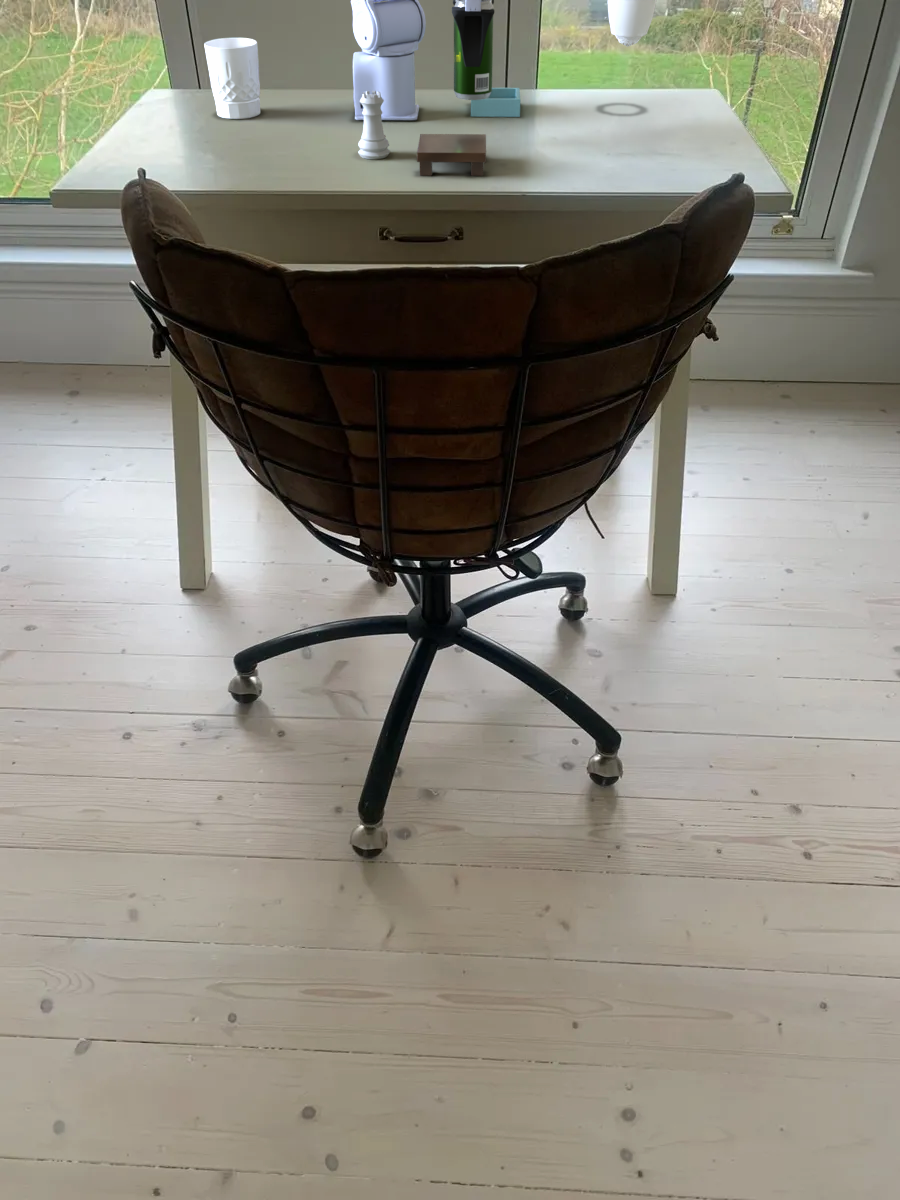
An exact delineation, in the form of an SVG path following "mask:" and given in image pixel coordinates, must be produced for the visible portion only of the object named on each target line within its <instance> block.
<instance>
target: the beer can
mask: <svg viewBox="0 0 900 1200" xmlns="http://www.w3.org/2000/svg"><path fill="white" fill-rule="evenodd" d="M455 2H456V4H455V6H454V5H453V7H465V0H455ZM494 8H495V7H494V4H492V0H481V9H494ZM494 10H495V9H494ZM493 56H494V16H493V17H492V19H491V22H490V24H489V27H488V30H487V34H486V38H485V44H484V50H483V57H482V61H481V65H480V67H465V64H464V60H463V54H462V46H461V39H460V34H459V30H458V27H457V24H456V21H455V19H454V18H453V93H454V95H455V97H456V98H457V99H459V100H464V101H471V100H482V99H486V98H489V97H490V94H491V92H492V88H493V66H494V65H493V64H494V63H493V62H494V61H493V59H494V57H493Z"/></svg>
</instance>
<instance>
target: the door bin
mask: <svg viewBox="0 0 900 1200" xmlns="http://www.w3.org/2000/svg"><path fill="white" fill-rule="evenodd" d="M470 117H471V118H472V117H473V118H475V117H477V118H480V117H485V118H486V117H487V118H490V117H491V118H498V117H499V118H500V117H501V118H503V117H504V118H521V90H520V87H492V92H491V94H490V97H489V98H486V99H482V100H470Z"/></svg>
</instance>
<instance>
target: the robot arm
mask: <svg viewBox="0 0 900 1200" xmlns="http://www.w3.org/2000/svg"><path fill="white" fill-rule="evenodd" d="M494 3H495V0H492V4H493V5H494ZM350 4H351V9H352V31H353V35H354V38H355V41H356V42H357V44H358V46H359V47H360V48H361V51H355V52H354V53H353V54H352V55H353V56H352V81H353V82H352V83H353V105H354V120H356V121H364V115H363V114H362V112H363V109H364V108H363V105H362V104H361V103H360V99H361V98H362V93H363V92H365V94H366V91H369V93H370V94H372V91H376V95H377V92H380V93H381V97H382V99H383V100H384V102H383V103H382V105H381V111H382V112H383V113H382V115H381V120H382V121H417V120H418V116H419V110H420V104H416V70H415V66H416V63H415V51H419V44H420V43H422V41H423V39H424V37H425V33H426V29H427V20H426V13H425V11H424V8H423V6H422V5H421V3H420V1H419V0H350ZM452 4H453V6H451V15H452V17H453V20H454V19H455V21H456V24H457V27H458V30H459V34H460V39H461V46H462V54H463V60H464V64H465V67H480V65H481V61H482V57H483V50H484V44H485V38H486V34H487V30H488V27H489V24H490V22H491V19H492V17H493V18H494V16H495V15H494V14H495V9H481V0H465V7H454V6H455V4H456V2H455V0H452Z"/></svg>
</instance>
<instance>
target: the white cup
mask: <svg viewBox="0 0 900 1200" xmlns="http://www.w3.org/2000/svg"><path fill="white" fill-rule="evenodd" d="M203 46H204V51H205V52H204V53H205V57H206V64H207V68H208V76H209V80H210V87H211V90H212V96H213V98H214V103H215V108H216V109H215V110H216V115H217V116H218V117H220V118H223V119H228V120H246V119H250V118H255V117H257V116H259V115H260V114H261V100H260V99H261V96H260V95H261V89H260V88H261V82H260V64H259V48H258V41H257V40H255V39H253V38H247V37H223V38H222V37H221V38H214V39H209V40H207V41H205V42H204V44H203Z"/></svg>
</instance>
